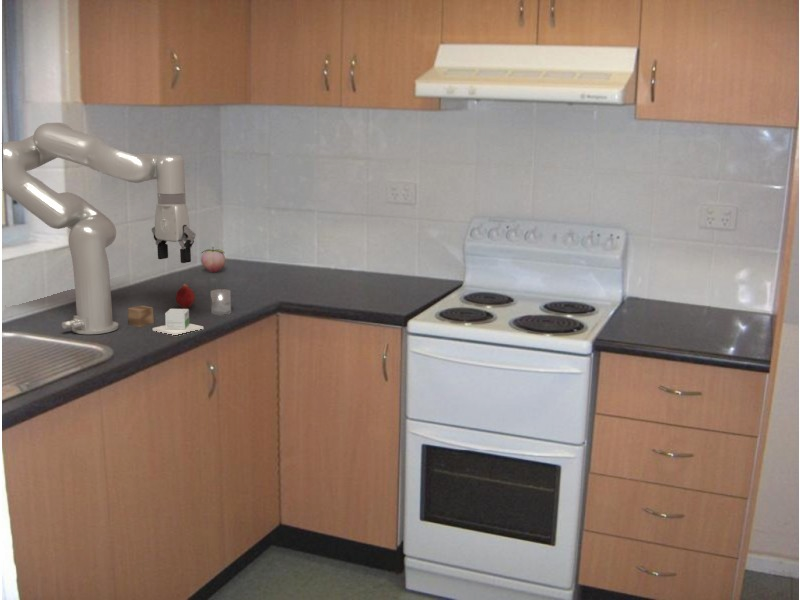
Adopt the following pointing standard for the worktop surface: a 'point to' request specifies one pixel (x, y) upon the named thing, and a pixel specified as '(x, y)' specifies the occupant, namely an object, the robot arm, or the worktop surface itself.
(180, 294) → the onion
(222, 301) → the tin
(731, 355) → the worktop surface
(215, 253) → the decorative fruit
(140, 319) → the walnut block
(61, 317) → the worktop surface
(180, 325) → the small box
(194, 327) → the plate
